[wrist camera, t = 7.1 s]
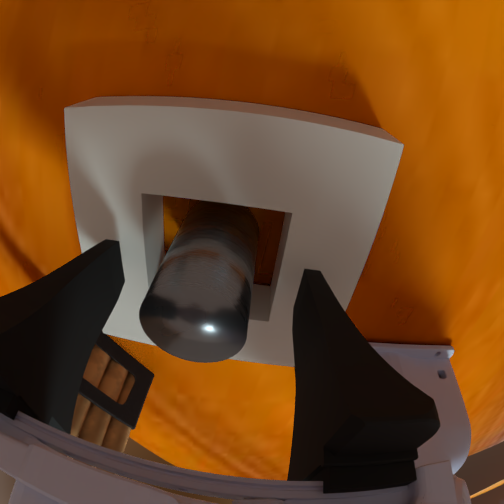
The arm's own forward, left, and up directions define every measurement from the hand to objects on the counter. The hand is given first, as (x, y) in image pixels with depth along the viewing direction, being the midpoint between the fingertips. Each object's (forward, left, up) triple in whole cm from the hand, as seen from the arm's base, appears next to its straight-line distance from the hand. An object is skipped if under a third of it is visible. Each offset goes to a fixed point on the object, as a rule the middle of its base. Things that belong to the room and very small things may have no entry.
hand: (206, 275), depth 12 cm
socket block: (0, 0, -3) cm, 3 cm away
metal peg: (0, 0, -3) cm, 3 cm away
